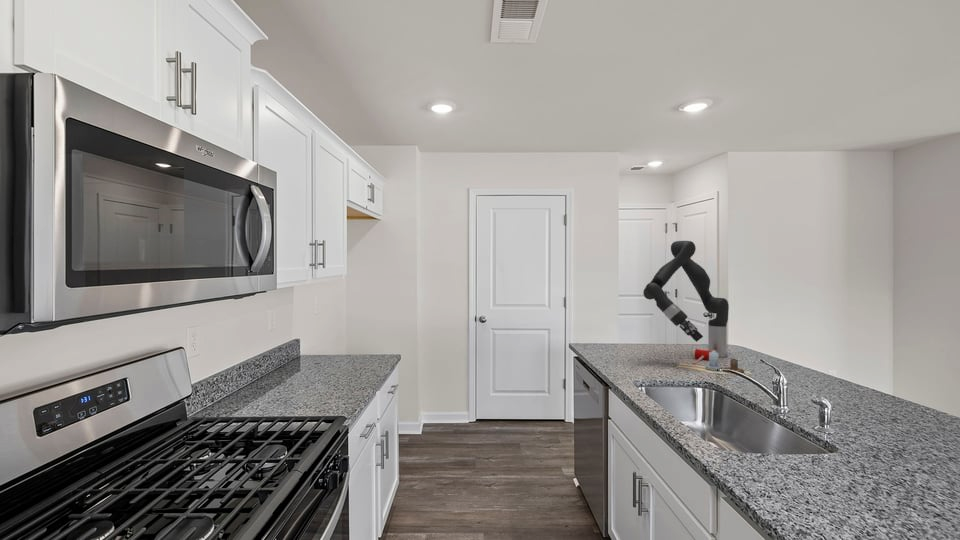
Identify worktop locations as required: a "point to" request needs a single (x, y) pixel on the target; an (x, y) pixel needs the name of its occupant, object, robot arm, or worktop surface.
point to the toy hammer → (700, 355)
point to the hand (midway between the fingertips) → (700, 339)
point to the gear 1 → (713, 362)
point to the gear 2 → (734, 366)
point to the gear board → (703, 368)
